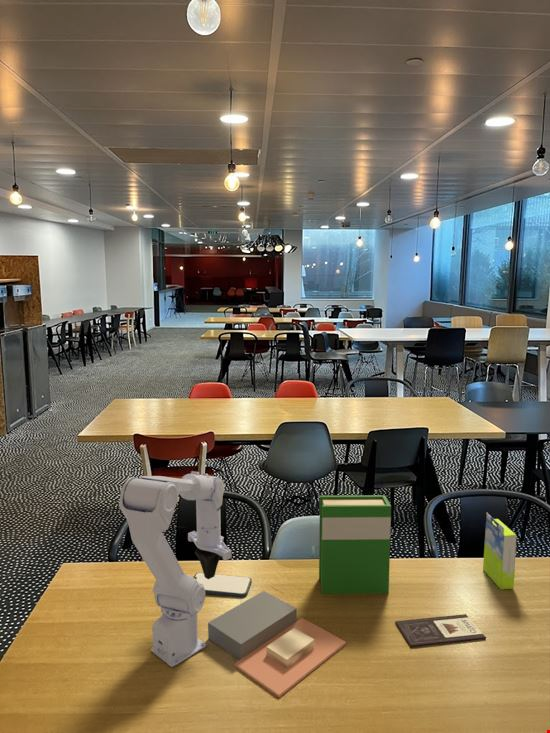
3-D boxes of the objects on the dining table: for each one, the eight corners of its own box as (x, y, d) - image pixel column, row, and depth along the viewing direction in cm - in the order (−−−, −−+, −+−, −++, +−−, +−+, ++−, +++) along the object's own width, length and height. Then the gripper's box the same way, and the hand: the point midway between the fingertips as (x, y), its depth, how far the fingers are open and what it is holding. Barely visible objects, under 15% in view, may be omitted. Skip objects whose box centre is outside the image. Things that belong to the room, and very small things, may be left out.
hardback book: (321, 593, 140) (322, 506, 137) (318, 578, 148) (319, 495, 144) (388, 593, 140) (391, 506, 137) (382, 578, 148) (384, 495, 144)
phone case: (252, 582, 147) (196, 576, 149) (252, 576, 147) (196, 571, 149) (246, 600, 138) (186, 594, 141) (246, 594, 138) (186, 588, 140)
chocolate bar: (395, 621, 128) (465, 614, 130) (395, 624, 128) (465, 617, 130) (410, 645, 119) (485, 637, 122) (410, 649, 119) (485, 641, 122)
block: (241, 661, 114) (241, 644, 114) (208, 638, 122) (208, 622, 121) (296, 623, 127) (296, 608, 127) (263, 605, 135) (263, 590, 134)
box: (514, 589, 142) (518, 527, 140) (499, 590, 142) (503, 528, 139) (495, 569, 152) (498, 511, 150) (481, 569, 152) (484, 511, 150)
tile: (266, 646, 115) (266, 655, 116) (286, 659, 111) (286, 668, 111) (294, 627, 122) (294, 635, 122) (314, 639, 118) (314, 647, 118)
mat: (279, 697, 104) (279, 694, 104) (234, 666, 113) (234, 663, 113) (346, 644, 120) (346, 641, 120) (302, 620, 129) (302, 617, 129)
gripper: (241, 528, 127) (241, 581, 128) (203, 510, 137) (204, 560, 139) (217, 537, 122) (218, 593, 123) (180, 519, 132) (182, 570, 134)
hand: (209, 576), depth 131 cm, fingers closed
